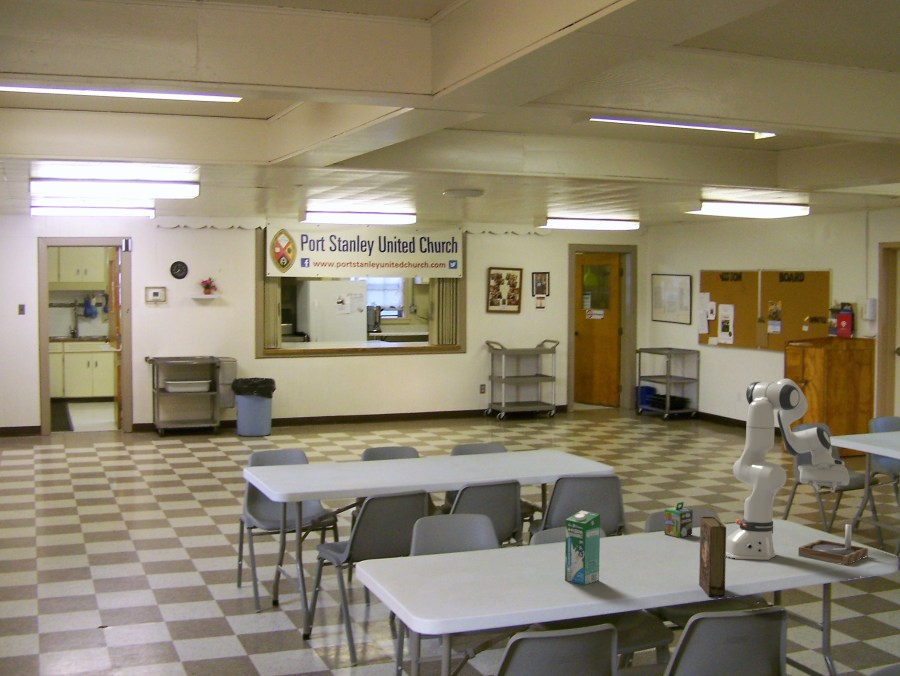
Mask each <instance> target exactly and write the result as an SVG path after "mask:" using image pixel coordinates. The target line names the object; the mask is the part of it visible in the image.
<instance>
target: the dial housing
mask: <svg viewBox="0 0 900 676" xmlns="http://www.w3.org/2000/svg"><path fill="white" fill-rule="evenodd" d="M815 545H838V546H843V547H845V543H840V542H835V541H829V540H825V539H819V540H816V541H813V542H810V543H807V544H804V545H801V546H799V547H798V555H799V556H798V557H802V556H803V557H804V558H807V557H809V558H808V559H812V558H814V559H813V560H817V559H818V561H822V560H823V561H822V562H827V561H828V563H832V562H834V564H837V563H841V564H840V565H842V564H849V563H851V562H853V561H856V560H858V559H860V558H863V557H865V556H869V555H868V552H869V548H868V547H862V546H857V545H852V544H851V549H853V550H854V552H852V553H850V554H847V555H840V554H835V553H830V552H825V551H819V550H814V549H812V547H813V546H815ZM856 562H857V561H856ZM851 564H852V563H851ZM849 565H850V564H849Z"/></svg>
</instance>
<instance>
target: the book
mask: <svg viewBox="0 0 900 676" xmlns="http://www.w3.org/2000/svg"><path fill="white" fill-rule="evenodd" d="M699 523H700V530H699V533H700V534H699V571H698V573H699V574H698V577H699V578H698V582H699V583H698V585H699V587H700V588H701V589H702V590H703V592H704V593H705V594H706V595H707V596H708V597H711V596H716V597H717V596H718V597H725V596H726V567H727V565H726V560H727V559H726V558H727V557H726V538H727V526H726V525H725V524H724V523H722V521H720V520H719V519H718V518H717V517H716V516H701V517H700V522H699Z"/></svg>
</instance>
